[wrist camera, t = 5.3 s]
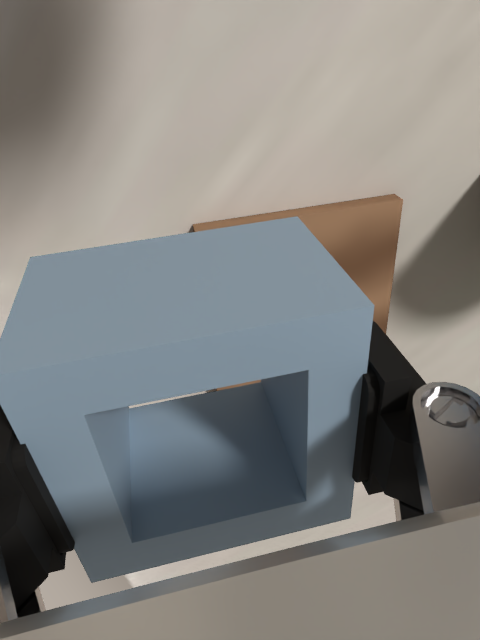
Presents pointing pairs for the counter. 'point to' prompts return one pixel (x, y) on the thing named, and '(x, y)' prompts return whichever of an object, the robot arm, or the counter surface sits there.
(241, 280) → the collar
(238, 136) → the counter surface
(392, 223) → the shaft stand
